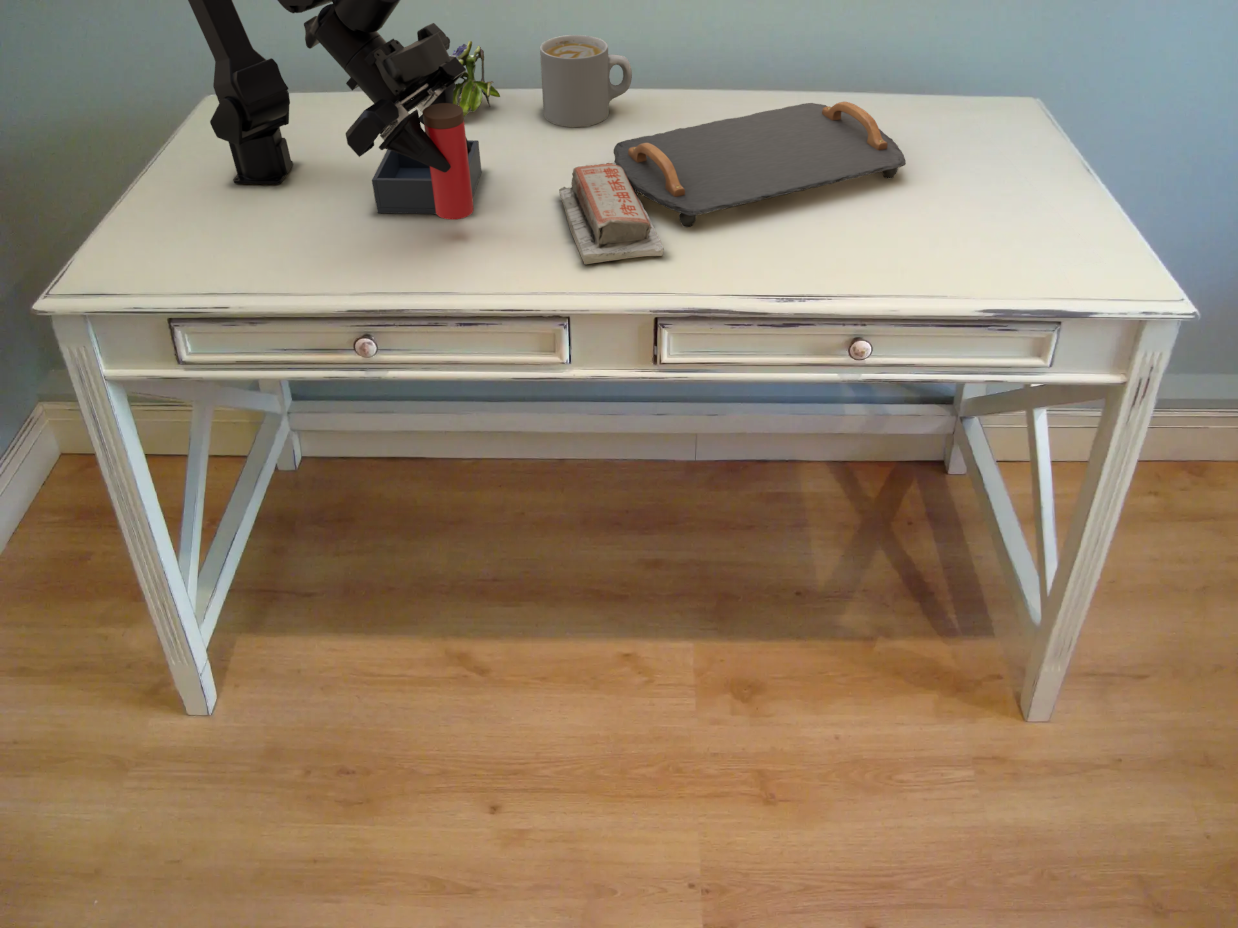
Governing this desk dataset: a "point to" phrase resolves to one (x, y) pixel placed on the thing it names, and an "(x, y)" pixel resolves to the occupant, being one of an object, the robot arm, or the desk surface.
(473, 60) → the passion flower
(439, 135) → the candy tube
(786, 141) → the serving tray
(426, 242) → the desk surface
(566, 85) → the coffee mug
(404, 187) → the desk bin
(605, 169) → the packaged product
